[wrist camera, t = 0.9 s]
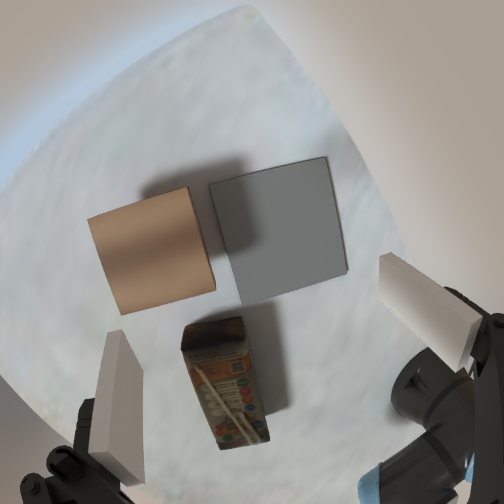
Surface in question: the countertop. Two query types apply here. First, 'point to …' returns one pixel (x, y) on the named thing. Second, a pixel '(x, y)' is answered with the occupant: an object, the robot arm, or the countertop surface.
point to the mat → (280, 229)
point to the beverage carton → (225, 382)
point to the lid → (153, 252)
